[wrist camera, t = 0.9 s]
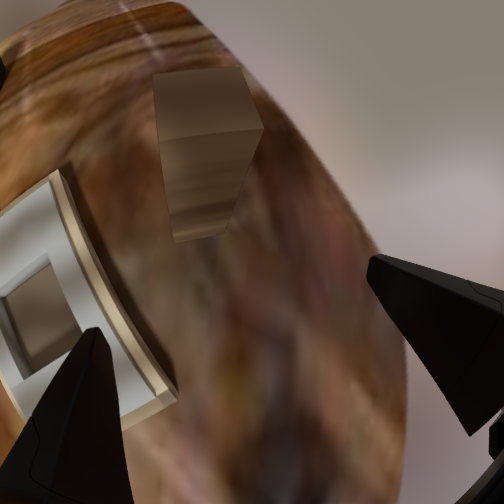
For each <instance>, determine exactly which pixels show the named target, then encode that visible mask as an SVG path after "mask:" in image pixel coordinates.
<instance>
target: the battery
mask: <svg viewBox="0 0 504 504" xmlns="http://www.w3.org/2000/svg"><path fill="white" fill-rule="evenodd" d="M5 70H6V69H5V66H4V64H3V62H2V60H1V58H0V88H1V84H2V81H3V77H4V74H5Z"/></svg>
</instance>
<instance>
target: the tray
mask: <svg viewBox="0 0 504 504" xmlns="http://www.w3.org/2000/svg"><path fill="white" fill-rule="evenodd" d="M91 327H99V328H100V329H101V330H102V332H103V334H104V336H105V338H106V340H107V342H108V343H109V345H110V348H111V351H112V358H113V366H114V372H115V379H116V385H117V391H118V397H119V408H120V420H121V429H122V431H123V430H125V429H127V428H129V427H131V426H133V425H135V424H137V423H139V422H140V421H142V420H144V419H146V418H148V417H150V416H151V415H153V414H155V413H157V412H159V411H160V410H162V409H164V408H166V407H167V406H169V405H171V404H173V403H174V402H176V401H177V400H178V394H179V392H178V390H177V389H176V388H175V386H174V385H173V383H172V382H171V381H170V379H169V378H168V376H167V375H166V374H165V372H164V371H163V369H162V368H161V366H160V365H159V363H158V362H157V360H156V359H155V357H154V356H153V354H152V353H151V351H150V350H149V348H148V347H147V345H146V344H145V342H144V340H143V339H142V337H141V336H140V334H139V332H138V331H137V329H136V327H135V326H134V324H133V322H132V321H131V319H130V317H129V315H128V314H127V312H126V310H125V308H124V307H123V305H122V303H121V301H120V299H119V298H118V296H117V294H116V292H115V290H114V288H113V286H112V284H111V282H110V281H109V279H108V277H107V275H106V273H105V271H104V269H103V267H102V264H101V262H100V260H99V258H98V256H97V254H96V252H95V250H94V247H93V245H92V243H91V241H90V238H89V236H88V234H87V232H86V229H85V227H84V224H83V222H82V220H81V217H80V215H79V212H78V209H77V207H76V204H75V202H74V199H73V196H72V194H71V191H70V188H69V185H68V183H67V181H66V180H65V179H64V177H63V176H62V174H61V173H60V172H59V170H58V169H57V170H56V171H54V172H53V173H51V174H50V175H48V176H47V177H45V178H44V179H42V180H41V181H40V182H38V183H37V184H35V185H34V186H33V187H31V188H30V189H28V190H27V191H26V192H24V193H23V194H22V195H20V196H19V197H18V198H17V199H15V200H14V201H13V202H11V203H10V204H9V205H8V206H6V207H5V208H4V209H3V210H2V211H0V380H1V382H2V384H3V386H4V388H5V390H6V392H7V394H8V395H9V397H10V399H11V401H12V403H13V405H14V406H15V408H16V410H17V412H18V413H19V415H20V417H21V418H22V420H23V421H24V423H25V425H26V423H27V421H28V419H29V417H30V416H32V412H33V410H34V409H35V407H36V405H37V403H38V402H39V400H40V398H41V397H42V395H43V393H44V392H45V390H46V388H47V387H48V385H49V383H50V382H51V380H52V379H53V377H54V375H55V374H56V372H57V371H58V369H59V368H60V366H61V365H62V363H63V362H64V360H65V358H66V357H67V355H68V354H69V353H70V351H71V350H72V348H73V347H74V345H75V344H76V342H77V341H78V339H79V338H80V336H81V335H82V334H83V332H84V331H85V330H86V329H87V328H91Z"/></svg>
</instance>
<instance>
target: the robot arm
mask: <svg viewBox="0 0 504 504" xmlns="http://www.w3.org/2000/svg"><path fill="white" fill-rule="evenodd" d="M366 279H367V282H368V284H369V285H370V287H371V288H372V290H373V291H374V293H375V295H376V296H377V298H378V299H379V301H380V303H381V304H382V306H383V308H384V309H385V311H386V312H387V314H388V315H389V317H390V318H391V319H392V321H393V322H394V323H395V325H396V326H397V327H398V329H399V330H400V332H401V333H402V334H403V336H404V337H405V339H406V340H407V341H408V343H409V344H410V345H411V347H412V348H413V350H414V351H415V353H416V354H417V355H418V357H419V358H420V360H421V361H422V363H423V364H424V366H425V367H426V369H427V370H428V372H429V373H430V375H431V376H432V377H433V379H434V381H435V382H436V383H437V385H438V387H439V388H440V390H441V391H442V393H443V394H444V396H445V398H446V400H447V401H448V403H449V404H450V406H451V408H452V409H453V411H454V412H455V414H456V416H457V417H458V419H459V421H460V422H461V424H462V426H463V428H464V429H465V431H466V433H467V434H468V436H472V435H473V434H474V433H475V432H476V431H478V430H479V429H480V428H481V427H482V426H483V425H485V424H486V423H487V422H488V421H489V420H490V419H491V418H492V417H493V416H494V415H495V414H496V413H497V412H498V411H500V409H501V410H502V412H501V413H500V415H499V416H498V417H497V419H496V420H495V421H494V422H493V424H492V425H491V426H490V427H489V454H490V456H491V457H492V458H493V460H494V462H493V463H492V464H491V465H490V466H489V468H488V469H487V470H486V471H485V472H484V474H483V475H482V476H481V477H480V478H479V479H478V480H477V481H476V482H475V484H474V485H473V486H472V487H471V488H470V489H469V490H468V491H467V492H466V493H465V494H464V495H463V496H462V497H461V498H460V499H459V500H458V501H457V502H456V503H455V504H504V291H503V290H499V289H496V288H492V287H488V286H485V285H482V284H478V283H475V282H472V281H469V280H465V279H462V278H460V277H456V276H453V275H450V274H446V273H444V272H440V271H437V270H434V269H431V268H427V267H424V266H421V265H417V264H414V263H411V262H407V261H404V260H401V259H397V258H394V257H390V256H387V255H383V254H377V255H374V256H372V257H371V258H370V260H369V264H368V269H367V274H366ZM0 504H134V500H133V496H132V491H131V486H130V481H129V476H128V471H127V465H126V459H125V452H124V445H123V438H122V429H121V420H120V408H119V397H118V391H117V385H116V379H115V372H114V366H113V358H112V351H111V348H110V345H109V343H108V342H107V340H106V338H105V336H104V334H103V332H102V330H101V329H100V328H99V327H91V328H87V329H86V330H85V331H84V332H83V334H82V335H81V336H80V338H79V339H78V341H77V342H76V344H75V345H74V347H73V348H72V350H71V351H70V353H69V354H68V355H67V357H66V358H65V360H64V362H63V363H62V365H61V366H60V368H59V369H58V371H57V372H56V374H55V375H54V377H53V379H52V380H51V382H50V383H49V385H48V387H47V388H46V390H45V392H44V393H43V395H42V397H41V398H40V400H39V402H38V403H37V405H36V407H35V409H34V410H33V412H32V416H30V417H29V419H28V421H27V423H26V425H25V426H24V428H23V430H22V432H21V434H20V435H19V437H18V439H17V441H16V442H15V444H14V446H13V447H12V449H11V451H10V452H9V454H8V456H7V457H6V459H5V460H4V462H3V464H2V465H1V467H0Z"/></svg>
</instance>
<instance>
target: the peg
mask: <svg viewBox="0 0 504 504" xmlns="http://www.w3.org/2000/svg"><path fill="white" fill-rule="evenodd" d="M152 77H153V91H154V104H155V115H156V124H157V134H158V142H159V151H160V158H161V166H162V173H163V180H164V186H165V193H166V199H167V205H168V211H169V217H170V222H171V227H172V233H173V238H174V243H179V242H184V241H189V240H194V239H199V238H204V237H209V236H214V235H219V234H224V232H225V229H226V227H227V224H228V221H229V219H230V216H231V213H232V210H233V208H234V205H235V202H236V200H237V197H238V195H239V192H240V189H241V187H242V184H243V182H244V179H245V176H246V174H247V171H248V169H249V166H250V164H251V161H252V158H253V156H254V153H255V151H256V148H257V146H258V143H259V141H260V138H261V136H262V133H263V131H264V126H263V124H262V121H261V118H260V116H259V113H258V111H257V108H256V106H255V103H254V100H253V98H252V95H251V93H250V90H249V88H248V85H247V83H246V81H245V78H244V76H243V73H242V71H241V68H240V67H225V68H207V69H195V70H185V71H176V72H169V73H161V74H155V75H152Z"/></svg>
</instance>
